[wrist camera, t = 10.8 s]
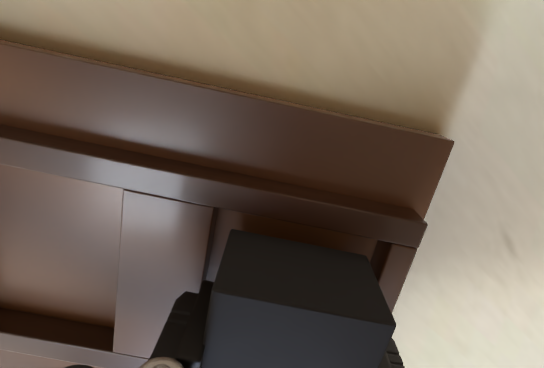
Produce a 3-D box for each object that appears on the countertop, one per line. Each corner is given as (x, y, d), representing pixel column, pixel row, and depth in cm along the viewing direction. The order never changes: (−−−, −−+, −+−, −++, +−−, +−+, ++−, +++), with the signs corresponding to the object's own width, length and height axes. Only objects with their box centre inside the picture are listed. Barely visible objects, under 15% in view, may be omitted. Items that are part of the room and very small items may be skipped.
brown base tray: (-57, 26, 12) (-136, 18, 10) (440, 134, 13) (474, 150, 11) (-23, 341, 17) (-71, 385, 15) (337, 406, 18) (345, 456, 16)
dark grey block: (230, 227, 12) (211, 289, 9) (366, 254, 12) (397, 325, 9) (207, 354, 14) (184, 443, 11) (324, 376, 14) (337, 469, 11)
